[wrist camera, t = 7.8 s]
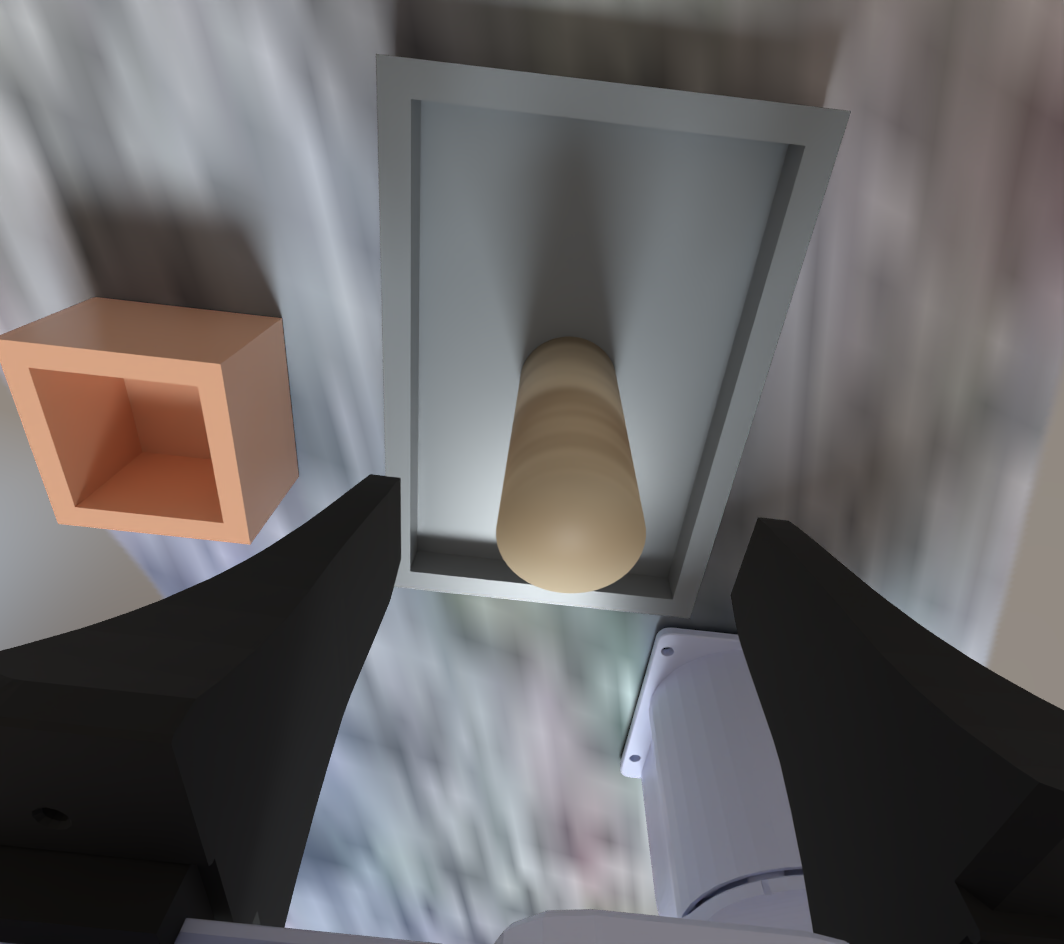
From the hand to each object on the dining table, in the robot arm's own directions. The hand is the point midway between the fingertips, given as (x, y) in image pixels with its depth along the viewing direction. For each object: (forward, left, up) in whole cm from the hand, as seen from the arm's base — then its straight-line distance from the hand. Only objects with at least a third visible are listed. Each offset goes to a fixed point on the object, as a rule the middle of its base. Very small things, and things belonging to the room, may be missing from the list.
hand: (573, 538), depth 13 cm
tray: (0, 0, -9) cm, 9 cm away
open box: (-2, +12, -9) cm, 15 cm away
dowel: (0, 0, -8) cm, 8 cm away
